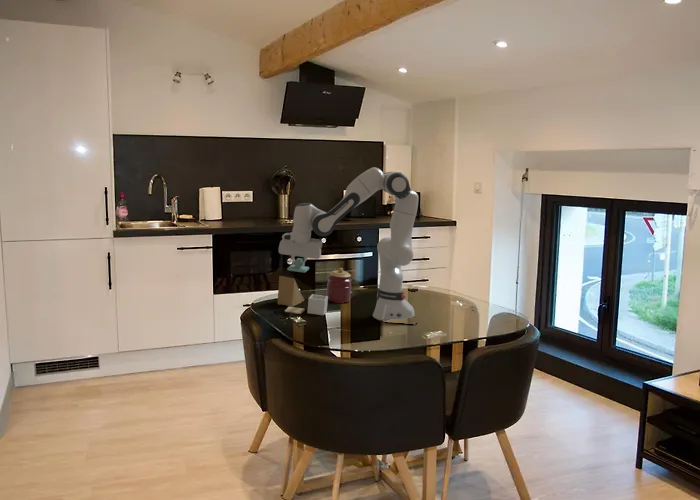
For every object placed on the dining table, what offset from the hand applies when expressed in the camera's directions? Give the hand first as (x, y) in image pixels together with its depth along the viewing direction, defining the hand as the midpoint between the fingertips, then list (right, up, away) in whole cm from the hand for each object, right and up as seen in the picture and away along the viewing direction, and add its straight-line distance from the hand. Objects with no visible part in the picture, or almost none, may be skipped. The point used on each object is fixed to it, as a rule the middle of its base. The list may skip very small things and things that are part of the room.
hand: (298, 265), depth 303 cm
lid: (0, -2, 0) cm, 2 cm away
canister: (+18, -19, +33) cm, 42 cm away
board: (-2, -23, +4) cm, 23 cm away
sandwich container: (-5, -20, +19) cm, 28 cm away
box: (+8, -23, +6) cm, 26 cm away
